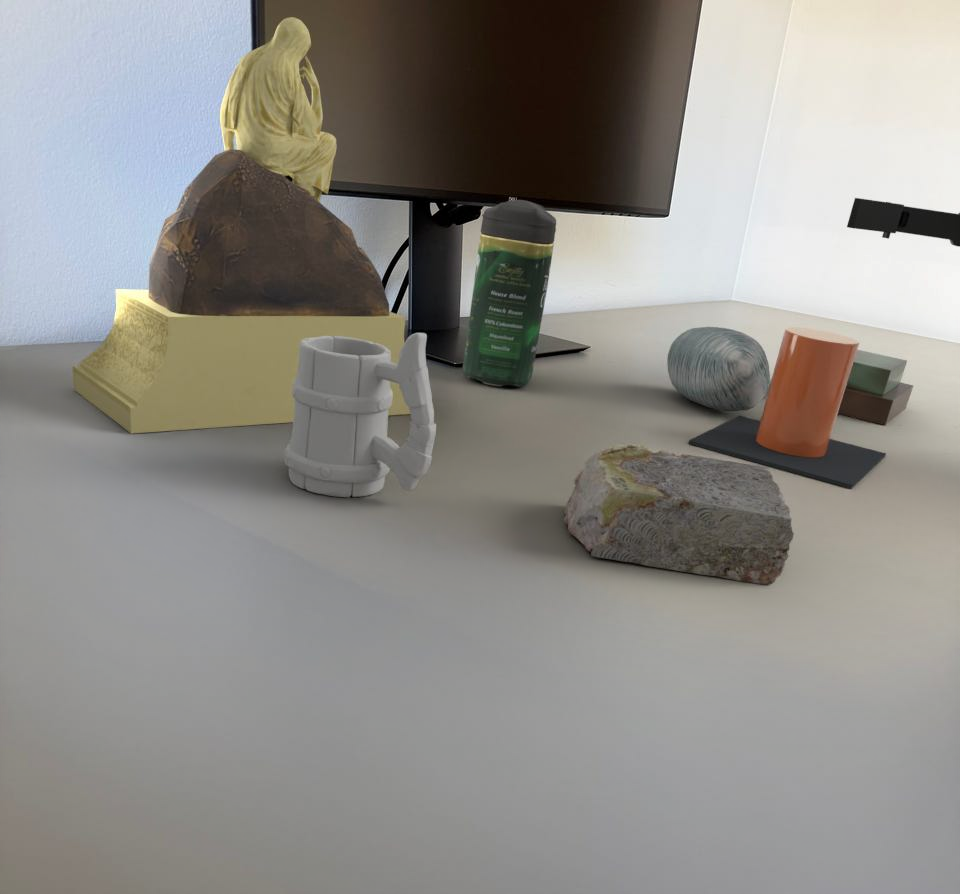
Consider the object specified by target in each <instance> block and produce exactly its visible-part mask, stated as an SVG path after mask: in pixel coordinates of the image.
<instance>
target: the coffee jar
mask: <svg viewBox="0 0 960 894" xmlns="http://www.w3.org/2000/svg"><path fill="white" fill-rule="evenodd" d="M481 216H482V220H481V226H480V234H479V241H478V247H477V248H478V249H477V257H476V265H475V273H474V279H473V288H472V295H471V304H470V311H469V318H468V319H469V320H468V326H467V333H466V340H465V346H464V354H463V363H462V373H463V375H464V376H465V377H466V378H468V379H473V380H476V381H480V382H482V384H484V385H489V386H492V387H503V386H514V387H516V388H517V387H524V386H525V385H527V384H528V383H529V382H530V381H531V379H532V377H533V374H534V373H533V372H534V367H535V363H536V362H535V361H536V356H537V349H538V343H539V339H540V338H539V337H540V331H541V326H542V320H543V314H544V309H545V303H546V298H547V291H548V285H549V281H550V279H549V278H550V271H551V266H552V259H553V258H552V257H553V252H554V245H555V243H554V242H555V238H556V231H557V219H556V217H555V216H553V215H552V214H551V213H550V212H549V211H547V210H546V209H545V207H544V206H543V205H541V204H538V203H535V202H532V201H530V200H524V199H513V200H507V201H505V202H500V203H499V204H497V205H494V206H491V207H488V208H486V209H485V210H484V211H483V214H481Z"/></svg>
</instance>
